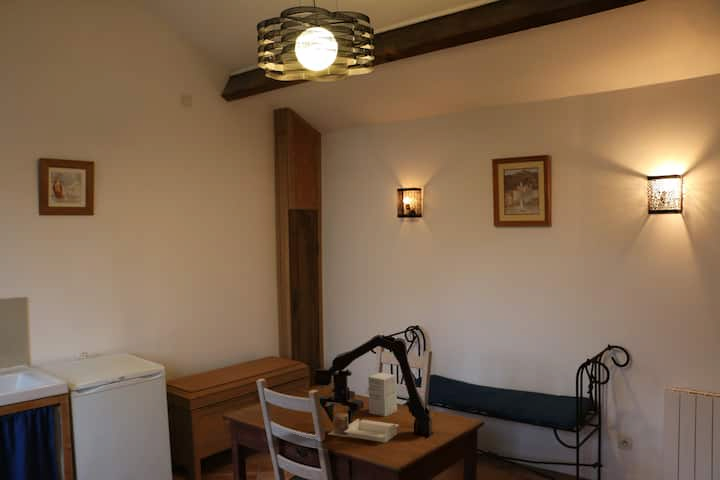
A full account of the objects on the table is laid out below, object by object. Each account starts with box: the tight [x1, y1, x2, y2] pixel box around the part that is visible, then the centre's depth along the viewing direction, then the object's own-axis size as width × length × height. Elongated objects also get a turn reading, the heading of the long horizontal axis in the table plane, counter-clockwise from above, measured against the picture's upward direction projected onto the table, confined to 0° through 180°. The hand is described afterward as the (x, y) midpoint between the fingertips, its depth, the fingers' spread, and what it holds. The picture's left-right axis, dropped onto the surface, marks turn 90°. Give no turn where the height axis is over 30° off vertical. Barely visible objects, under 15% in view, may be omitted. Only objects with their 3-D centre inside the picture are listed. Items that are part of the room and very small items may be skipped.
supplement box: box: [367, 372, 398, 417], centre depth 275 cm, size 10×9×17 cm
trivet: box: [327, 429, 348, 438], centre depth 248 cm, size 9×9×1 cm
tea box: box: [333, 412, 349, 435], centre depth 248 cm, size 5×5×7 cm
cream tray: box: [344, 418, 400, 443], centre depth 243 cm, size 17×16×5 cm
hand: (341, 423), depth 248 cm, fingers open, 8 cm apart
